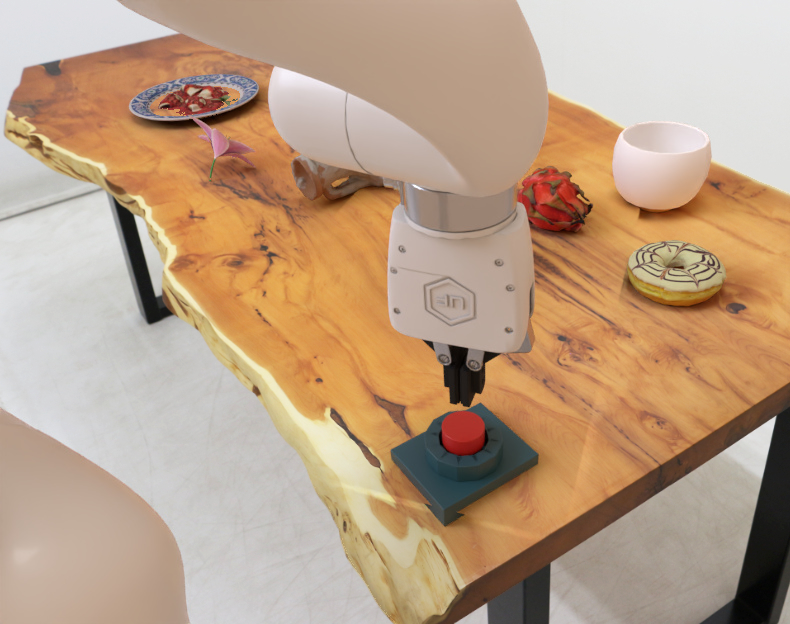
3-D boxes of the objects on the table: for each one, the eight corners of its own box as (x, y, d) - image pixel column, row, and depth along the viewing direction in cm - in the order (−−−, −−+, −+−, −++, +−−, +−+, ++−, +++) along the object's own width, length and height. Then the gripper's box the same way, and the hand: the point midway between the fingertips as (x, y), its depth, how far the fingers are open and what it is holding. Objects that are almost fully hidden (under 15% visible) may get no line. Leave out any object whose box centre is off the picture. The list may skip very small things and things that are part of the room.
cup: (637, 175, 106) (646, 112, 100) (717, 199, 98) (732, 132, 93) (590, 206, 99) (596, 140, 94) (672, 234, 92) (685, 165, 86)
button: (459, 462, 59) (458, 448, 58) (433, 437, 61) (433, 422, 60) (493, 443, 60) (493, 429, 59) (467, 419, 63) (467, 404, 62)
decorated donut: (734, 276, 83) (741, 249, 81) (702, 323, 77) (709, 294, 75) (647, 252, 89) (652, 225, 87) (611, 293, 82) (615, 266, 80)
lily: (262, 190, 113) (271, 129, 111) (186, 178, 108) (194, 113, 106) (244, 185, 123) (251, 129, 122) (174, 174, 118) (181, 115, 117)
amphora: (497, 81, 106) (313, 90, 91) (492, 188, 112) (319, 213, 97) (444, 77, 117) (272, 84, 103) (442, 175, 123) (280, 195, 108)
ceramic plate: (104, 120, 141) (99, 105, 139) (193, 79, 159) (190, 65, 157) (201, 138, 130) (198, 122, 128) (286, 91, 147) (283, 77, 146)
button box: (444, 527, 58) (443, 495, 56) (391, 466, 64) (388, 435, 61) (537, 471, 62) (540, 439, 60) (480, 418, 68) (480, 387, 65)
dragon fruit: (527, 214, 102) (577, 263, 94) (489, 197, 96) (538, 247, 88) (564, 164, 99) (619, 211, 91) (526, 144, 93) (581, 191, 85)
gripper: (333, 206, 47) (363, 406, 58) (563, 234, 42) (547, 448, 53) (377, 157, 52) (396, 349, 63) (584, 177, 47) (566, 381, 58)
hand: (465, 393), depth 58 cm, fingers closed
